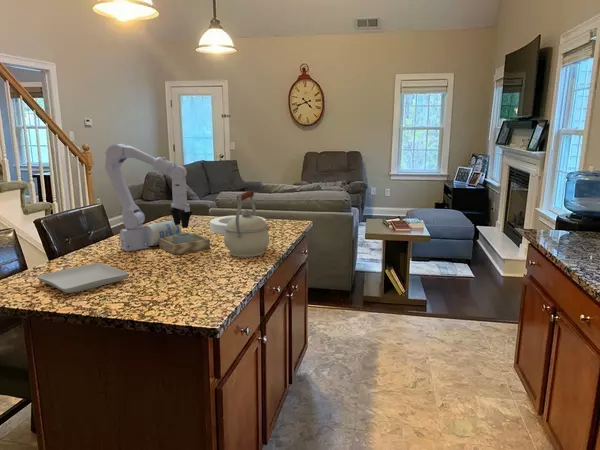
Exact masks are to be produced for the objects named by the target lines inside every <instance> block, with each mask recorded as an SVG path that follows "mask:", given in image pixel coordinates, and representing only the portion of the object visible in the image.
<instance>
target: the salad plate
mask: <svg viewBox="0 0 600 450" xmlns="http://www.w3.org/2000/svg"><path fill="white" fill-rule="evenodd" d="M128 276H129V272H127V271H125V270H122V269H119V268H116V267H114V266H111V265H108V264H106V263H105V264H104V263H102V262H95V263H90V264H83V265H80V266H75V267H70V268H66V269H62V270H56V271H53V272H48V273H44V274H39V275H37V276H36V277H37V280H39V281H41V282H42V283H44V284H47V285H49V286H52V287H53V288H56V289H58V290H60V291H62V292H64V293H65V294H75V293H74V292H77V293H80V292H79V291H81V292H84V291H83V290H85V291H88V290H87V289H89V290H92V289H91V288H93V289H96V288H95V287H97V288H100V287H103V286H102V285H104V286H107V285H106V284H108V285H111V284H115V283H117V282H120V281H122V280H124V279H125V278H127V277H128ZM110 283H111V284H110ZM99 286H100V287H99Z"/></svg>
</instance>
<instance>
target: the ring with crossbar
mask: <svg viewBox="0 0 600 450" xmlns="http://www.w3.org/2000/svg"><path fill="white" fill-rule="evenodd" d="M240 216H242V214H240ZM235 217H236V215H226V216H225V215H224V216H219V217H213V218H212V219H210V221H209V227H210V232H211V233H213V234H219V235H225V232H226V230H225V226H227V224H228V222H229V221H230V220H231V219H233V218H235ZM256 217H259V218H261V219H263V220H264V221H265V222H266V218H265V217H263V216H258V215H256Z"/></svg>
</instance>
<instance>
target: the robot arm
mask: <svg viewBox="0 0 600 450" xmlns="http://www.w3.org/2000/svg"><path fill="white" fill-rule="evenodd" d="M104 154H105V165H104V169H105V170H106V173H107V176H108V177H109V179H110V182H111V185H112V187H113V189H114V193H115V194H116V196H117V198H118V201H119V203H120V206H121V207H122V211H121V215H122V223H123V225H124V227H125V228H123V229H120V231H119V238H120V249H122V250H124V251H125V252H131V251H132V252H133V251H136V250H137V251H138V250H139V251H140V250H145V249H149V248H150V246H147V245H146V244H145V236H144V226H145V225H144V224H143V223H144V222H145V219H146V217H145V216H146V215H145V213H144V212H143V211H142V210H141V208H140V207H139V206H138V205H137V204H136V203H135V201H134V198H133V196H132V194H131V191H130V189H129V187H128V185H127V182H126V179H125V177H124V175H123V172H122V170H121V168H122V165H123V163H124V161H126V160H127V159H129V158H130V159H132V158H133V159H135V160H139V161H141V162H144V163H145V164H149V165H152V167H153V169H154V170H155V171H157V172H160V173H161V174H164V175H166V176H169V177H170V178H171V190H172V193H171V195H172V202H171V203H170V208H169V209H168V211H169V213H170V214H171V217H172V220H174V223H175V225H180V226H181V229H182V228H183V229H187V228H188V227H189V223H190V220H191V216H192V214H193V211H192V210H191V209H190V208H191V207H190V205H191V204H189V203H188V198H187V197H188V195H187V182H186V181H187V180H186V177H187V174H188V173H187V168H186V167H185V166H184V165H182V164H178V162H175V161H174V162H172V161H170V160H168V159H167V157H166V156H162V157H161V156H157V157H154V156H152V155H150V154H148V153H146V152H144V151H142V150H140V149H138V148H136V147H133V146H131V145H127V144H126V143H117V144H116V143H113V144H110V145H108V147H107V149H106V151H105V152H104Z"/></svg>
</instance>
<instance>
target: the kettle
mask: <svg viewBox="0 0 600 450" xmlns="http://www.w3.org/2000/svg"><path fill="white" fill-rule="evenodd" d="M254 195H255V193H254V191H253V190H248V191H245V192H243V193H240V194H238V195H237V196H236V200H237V209H236V217H235V218H233V219H231V220H230V221H229V222H228V224H227V226H225V230H226V232H225V234H224V235H223V236H224V237H223V243H224V246H225V247H226V248H227V250H229V254H230V255H231V256H234V257H239V258H252V257H259V256H261V255H263V254H264V253H265V249H266V248H267V247H268V246H269V243H270V234H269V230H268V229H269V225H268V224H267V223H266V220H265V221H264V220H263V219H261V218H259V217H260V216H258V217H256V216H257V212H256V210H257V209H256V205H255V202H254ZM247 199H249V202H250V205H251V208H252V209H251V211H252V213H251V211H250V210H248V209H245V210H243V211H242V212H241V209H242V203H243V201H245V200H247ZM240 215H242V216H240Z"/></svg>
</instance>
